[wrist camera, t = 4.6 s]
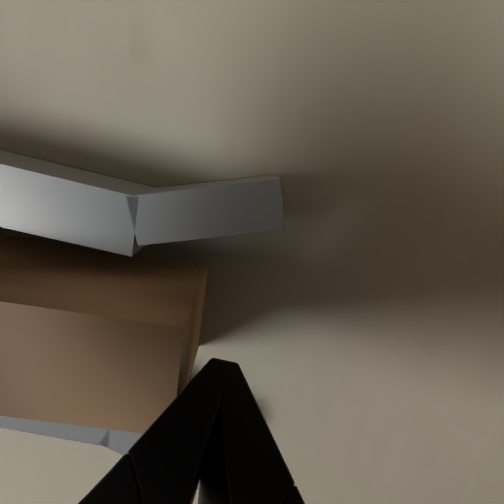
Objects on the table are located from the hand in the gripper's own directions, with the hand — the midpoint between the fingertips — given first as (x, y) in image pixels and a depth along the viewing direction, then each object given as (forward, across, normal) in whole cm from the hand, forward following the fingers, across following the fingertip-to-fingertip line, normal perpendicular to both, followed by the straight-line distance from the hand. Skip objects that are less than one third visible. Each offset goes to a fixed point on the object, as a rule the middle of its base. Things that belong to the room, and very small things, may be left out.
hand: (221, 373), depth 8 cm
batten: (+2, +6, 0) cm, 6 cm away
